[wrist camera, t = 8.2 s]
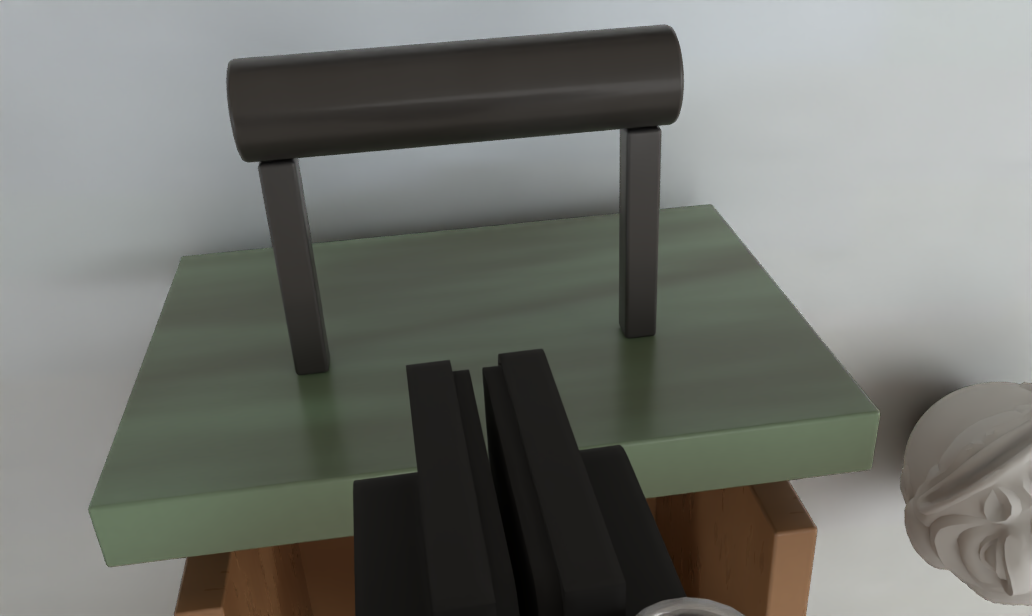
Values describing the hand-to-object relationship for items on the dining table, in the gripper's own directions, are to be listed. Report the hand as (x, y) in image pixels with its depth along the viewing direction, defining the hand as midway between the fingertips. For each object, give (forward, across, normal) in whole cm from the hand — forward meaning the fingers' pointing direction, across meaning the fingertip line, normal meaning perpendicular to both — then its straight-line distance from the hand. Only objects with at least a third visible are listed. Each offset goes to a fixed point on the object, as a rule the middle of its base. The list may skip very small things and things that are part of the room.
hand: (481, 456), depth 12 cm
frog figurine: (+12, -15, +10) cm, 21 cm away
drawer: (+11, -1, +7) cm, 13 cm away
